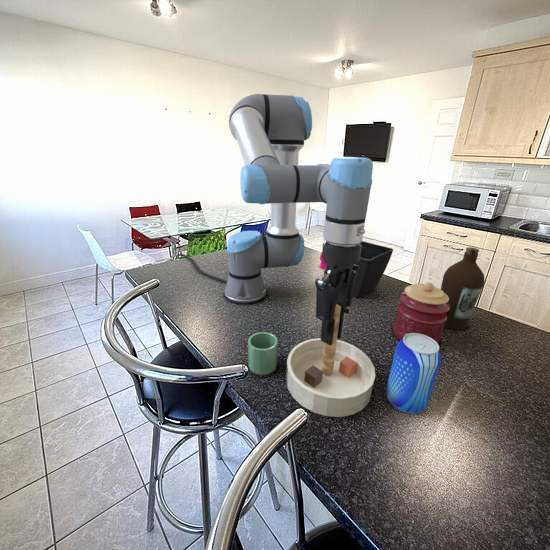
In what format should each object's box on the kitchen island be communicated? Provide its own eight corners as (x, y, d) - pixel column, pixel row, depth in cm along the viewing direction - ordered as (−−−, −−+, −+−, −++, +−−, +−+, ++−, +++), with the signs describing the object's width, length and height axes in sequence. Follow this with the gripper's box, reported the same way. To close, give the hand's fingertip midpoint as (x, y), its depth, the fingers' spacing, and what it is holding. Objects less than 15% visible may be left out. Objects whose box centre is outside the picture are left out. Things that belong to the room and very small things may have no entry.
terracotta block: (338, 371, 72) (339, 361, 70) (345, 365, 74) (347, 356, 72) (348, 378, 70) (350, 368, 68) (355, 372, 72) (357, 362, 70)
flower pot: (346, 274, 129) (350, 237, 122) (386, 288, 116) (394, 248, 109) (319, 287, 116) (323, 246, 109) (362, 304, 104) (369, 260, 97)
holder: (242, 366, 74) (241, 340, 71) (263, 353, 79) (263, 328, 75) (262, 381, 69) (262, 354, 66) (282, 366, 74) (283, 341, 71)
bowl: (268, 383, 69) (269, 363, 66) (319, 346, 82) (321, 328, 79) (339, 438, 56) (343, 415, 54) (386, 384, 69) (390, 364, 67)
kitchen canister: (419, 354, 79) (435, 297, 72) (383, 329, 90) (393, 277, 83) (449, 341, 85) (466, 287, 78) (411, 319, 95) (424, 270, 88)
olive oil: (424, 314, 98) (443, 244, 88) (451, 311, 101) (472, 242, 90) (448, 333, 89) (472, 256, 79) (477, 329, 91) (504, 254, 81)
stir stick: (318, 370, 71) (325, 306, 64) (325, 365, 73) (332, 302, 65) (328, 376, 69) (336, 311, 62) (335, 370, 71) (343, 306, 64)
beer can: (378, 388, 68) (391, 331, 62) (413, 386, 69) (429, 329, 62) (395, 418, 60) (411, 357, 54) (433, 416, 61) (454, 355, 55)
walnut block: (304, 381, 69) (304, 371, 67) (312, 374, 70) (312, 365, 69) (314, 388, 67) (315, 378, 65) (322, 381, 69) (323, 371, 67)
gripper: (336, 255, 50) (323, 363, 60) (378, 237, 60) (362, 331, 70) (302, 245, 55) (296, 346, 64) (347, 230, 65) (336, 319, 75)
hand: (330, 338), depth 67 cm, fingers closed on stir stick, 3 cm apart
